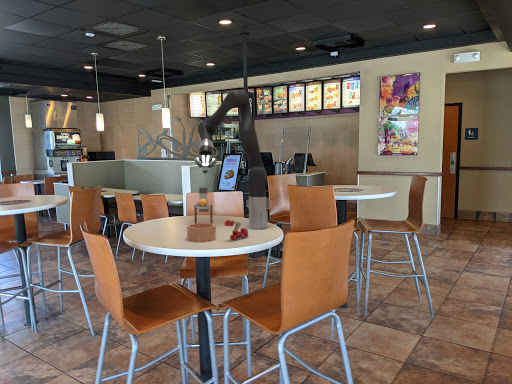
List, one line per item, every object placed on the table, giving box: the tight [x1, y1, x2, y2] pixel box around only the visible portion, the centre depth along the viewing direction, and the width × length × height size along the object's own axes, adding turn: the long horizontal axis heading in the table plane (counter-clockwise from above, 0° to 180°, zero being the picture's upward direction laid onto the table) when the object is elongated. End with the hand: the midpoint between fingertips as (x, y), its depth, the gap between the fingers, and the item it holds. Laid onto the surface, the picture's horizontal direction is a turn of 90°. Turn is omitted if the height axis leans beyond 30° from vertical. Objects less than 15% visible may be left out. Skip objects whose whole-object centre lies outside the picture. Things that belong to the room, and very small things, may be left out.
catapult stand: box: [193, 204, 214, 224], centre depth 198 cm, size 14×12×14 cm
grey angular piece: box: [194, 186, 210, 213], centre depth 195 cm, size 18×6×13 cm, turn 4°
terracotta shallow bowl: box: [186, 222, 217, 243], centre depth 182 cm, size 13×13×6 cm
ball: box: [198, 199, 208, 207], centre depth 194 cm, size 4×4×4 cm
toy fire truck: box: [224, 219, 249, 241], centre depth 181 cm, size 3×14×10 cm, turn 141°
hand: (205, 172), depth 206 cm, fingers closed
